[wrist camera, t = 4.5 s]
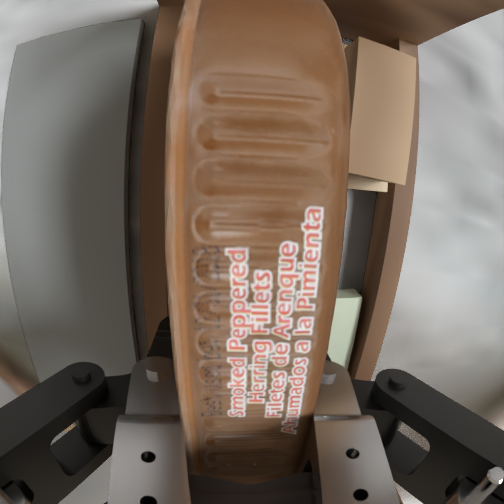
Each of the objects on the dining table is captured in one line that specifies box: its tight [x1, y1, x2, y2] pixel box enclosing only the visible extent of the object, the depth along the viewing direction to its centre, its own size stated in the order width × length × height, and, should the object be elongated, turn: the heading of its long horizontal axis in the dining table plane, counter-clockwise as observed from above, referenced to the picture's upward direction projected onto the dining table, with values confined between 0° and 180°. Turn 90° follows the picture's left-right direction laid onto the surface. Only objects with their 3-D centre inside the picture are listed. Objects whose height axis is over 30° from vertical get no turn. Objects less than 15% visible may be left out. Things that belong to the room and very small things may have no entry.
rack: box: [140, 0, 504, 504], centre depth 9 cm, size 11×21×9 cm, turn 176°
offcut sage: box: [327, 289, 362, 370], centre depth 15 cm, size 2×5×1 cm, turn 179°
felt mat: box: [1, 18, 145, 383], centre depth 12 cm, size 7×19×1 cm, turn 176°
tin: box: [164, 0, 350, 485], centre depth 8 cm, size 15×3×8 cm, turn 178°
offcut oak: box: [344, 37, 416, 185], centre depth 10 cm, size 2×5×2 cm, turn 172°
